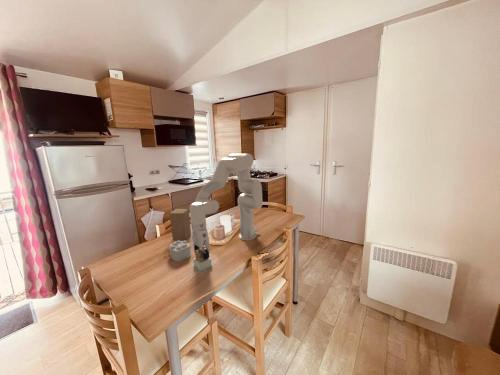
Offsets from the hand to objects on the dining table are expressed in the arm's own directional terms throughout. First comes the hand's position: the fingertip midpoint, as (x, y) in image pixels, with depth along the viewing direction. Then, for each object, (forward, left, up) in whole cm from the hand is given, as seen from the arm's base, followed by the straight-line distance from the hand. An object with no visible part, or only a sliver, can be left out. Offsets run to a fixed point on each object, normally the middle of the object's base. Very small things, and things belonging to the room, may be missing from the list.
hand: (201, 255), depth 110 cm
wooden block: (-8, -44, -7) cm, 45 cm away
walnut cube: (0, 0, -2) cm, 2 cm away
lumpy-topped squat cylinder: (+4, -20, -7) cm, 21 cm away
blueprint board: (-2, -1, -7) cm, 7 cm away
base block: (0, 0, -6) cm, 6 cm away
